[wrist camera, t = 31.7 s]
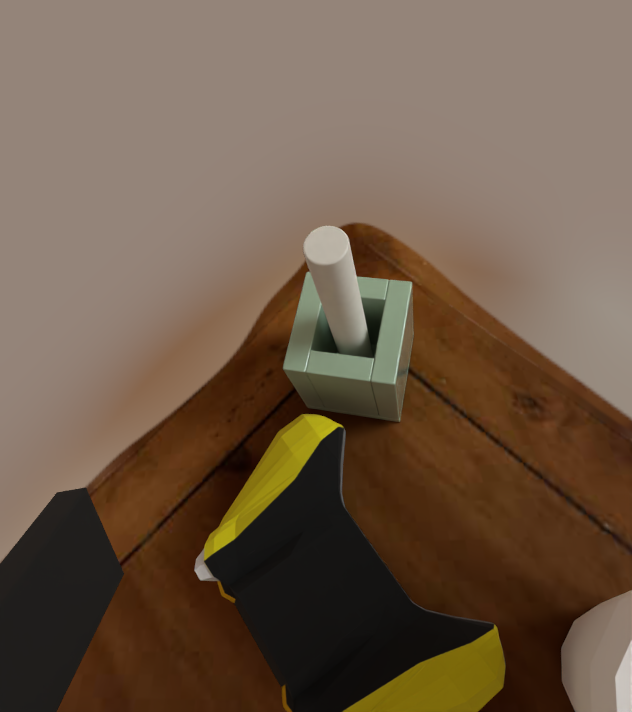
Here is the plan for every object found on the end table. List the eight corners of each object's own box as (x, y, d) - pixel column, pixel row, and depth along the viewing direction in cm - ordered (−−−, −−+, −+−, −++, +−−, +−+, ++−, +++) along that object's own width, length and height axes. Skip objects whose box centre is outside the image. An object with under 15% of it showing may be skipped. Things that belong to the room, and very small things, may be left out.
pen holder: (414, 335, 33) (412, 281, 27) (399, 422, 31) (395, 384, 25) (325, 324, 34) (305, 271, 29) (307, 407, 32) (281, 368, 27)
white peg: (377, 356, 32) (352, 226, 21) (372, 384, 32) (344, 266, 20) (348, 352, 33) (307, 223, 21) (342, 380, 32) (297, 262, 20)
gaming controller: (332, 419, 32) (193, 523, 31) (316, 388, 27) (149, 511, 26) (514, 658, 26) (347, 797, 25) (537, 676, 21) (329, 850, 20)
